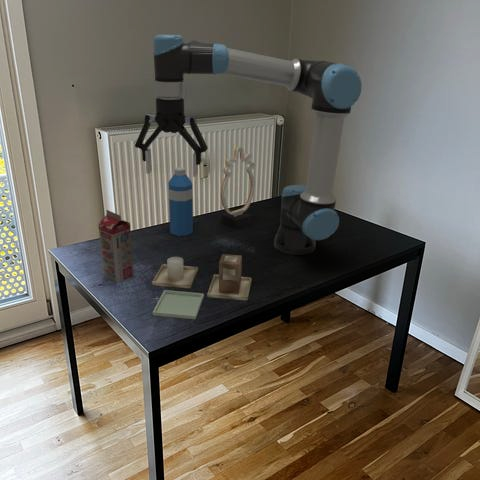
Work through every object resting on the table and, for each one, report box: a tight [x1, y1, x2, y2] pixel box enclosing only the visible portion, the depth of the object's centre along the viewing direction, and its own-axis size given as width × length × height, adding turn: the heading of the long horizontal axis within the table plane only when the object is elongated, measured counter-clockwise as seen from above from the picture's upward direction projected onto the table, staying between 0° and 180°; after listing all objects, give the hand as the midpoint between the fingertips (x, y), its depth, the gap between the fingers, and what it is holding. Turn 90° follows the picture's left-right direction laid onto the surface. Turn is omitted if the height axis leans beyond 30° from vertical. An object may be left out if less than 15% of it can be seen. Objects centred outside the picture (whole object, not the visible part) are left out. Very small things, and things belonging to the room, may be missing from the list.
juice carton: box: [98, 209, 135, 284], centre depth 147 cm, size 7×7×22 cm
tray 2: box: [152, 289, 205, 320], centre depth 136 cm, size 12×12×2 cm
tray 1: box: [151, 263, 199, 289], centre depth 151 cm, size 12×12×2 cm
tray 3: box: [206, 274, 253, 301], centre depth 146 cm, size 12×12×2 cm
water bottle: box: [167, 166, 194, 237], centre depth 181 cm, size 9×9×25 cm
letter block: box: [218, 253, 243, 294], centre depth 144 cm, size 6×6×10 cm
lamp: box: [220, 146, 256, 230], centre depth 188 cm, size 17×9×32 cm, turn 132°
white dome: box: [166, 256, 184, 281], centre depth 150 cm, size 5×5×6 cm
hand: (172, 174), depth 137 cm, fingers open, 13 cm apart
